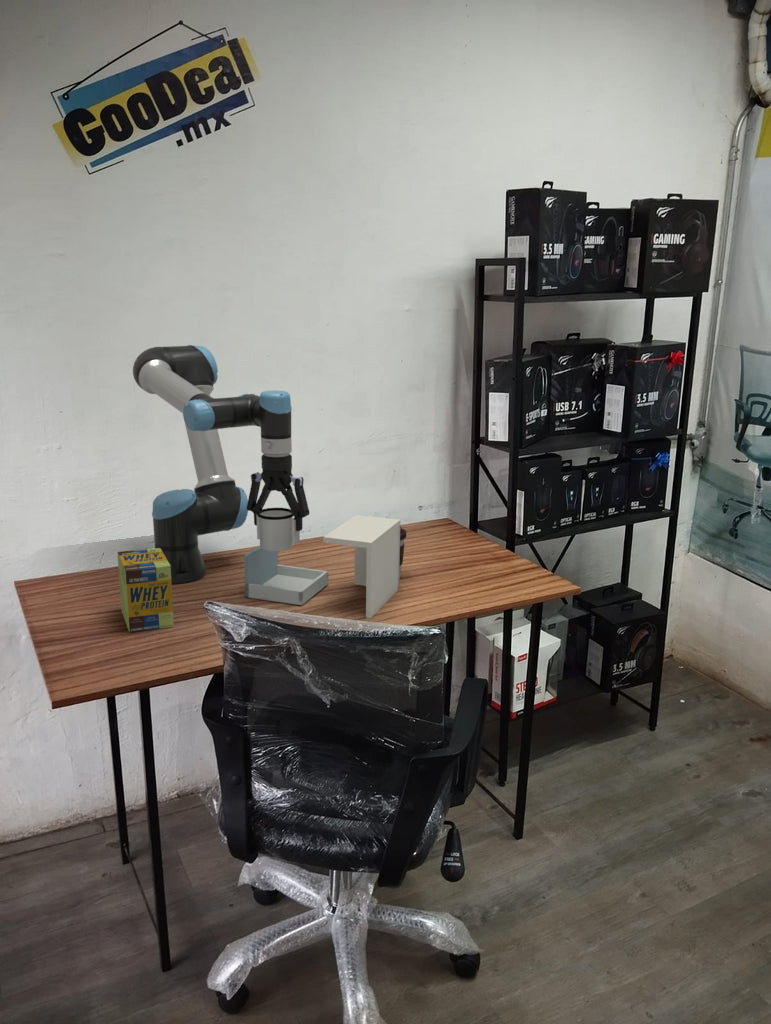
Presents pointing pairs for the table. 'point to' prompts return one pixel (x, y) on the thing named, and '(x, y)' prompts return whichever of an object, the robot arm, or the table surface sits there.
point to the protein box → (145, 589)
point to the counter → (372, 556)
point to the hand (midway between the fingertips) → (278, 540)
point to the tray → (280, 579)
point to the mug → (275, 528)
